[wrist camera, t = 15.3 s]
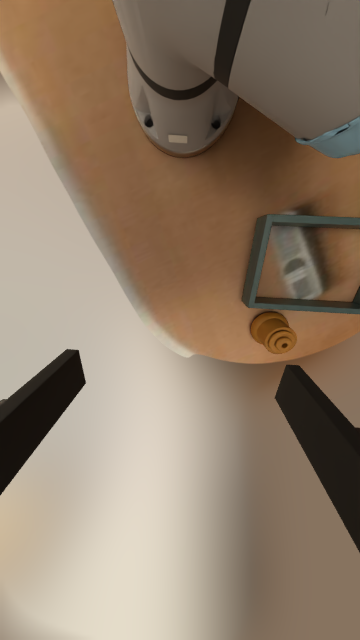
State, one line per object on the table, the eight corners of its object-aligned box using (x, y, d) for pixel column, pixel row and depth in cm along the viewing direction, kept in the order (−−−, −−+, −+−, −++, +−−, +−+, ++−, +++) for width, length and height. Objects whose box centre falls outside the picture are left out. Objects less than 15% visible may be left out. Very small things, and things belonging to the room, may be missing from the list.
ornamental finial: (291, 328, 38) (260, 346, 40) (273, 303, 36) (242, 324, 38) (314, 348, 31) (275, 369, 33) (294, 318, 29) (254, 342, 31)
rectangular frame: (257, 218, 30) (267, 214, 26) (394, 223, 30) (427, 220, 25) (241, 300, 36) (247, 307, 32) (355, 307, 35) (376, 315, 31)
